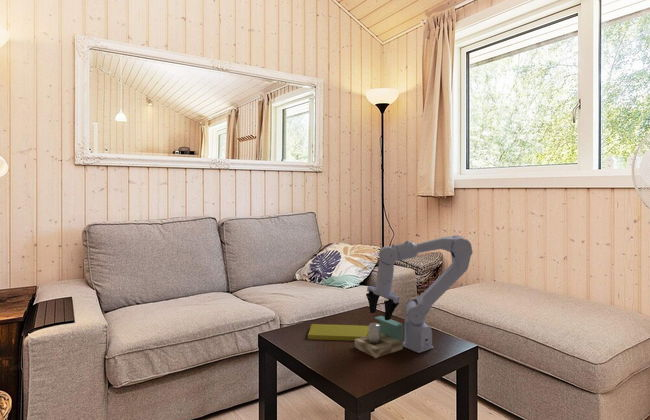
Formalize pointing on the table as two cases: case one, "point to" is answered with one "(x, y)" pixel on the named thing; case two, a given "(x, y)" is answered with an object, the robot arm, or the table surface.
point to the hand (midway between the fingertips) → (379, 316)
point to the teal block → (391, 328)
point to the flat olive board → (337, 332)
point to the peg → (374, 333)
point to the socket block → (379, 345)
